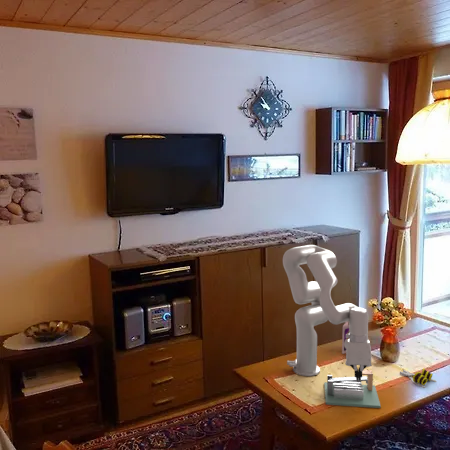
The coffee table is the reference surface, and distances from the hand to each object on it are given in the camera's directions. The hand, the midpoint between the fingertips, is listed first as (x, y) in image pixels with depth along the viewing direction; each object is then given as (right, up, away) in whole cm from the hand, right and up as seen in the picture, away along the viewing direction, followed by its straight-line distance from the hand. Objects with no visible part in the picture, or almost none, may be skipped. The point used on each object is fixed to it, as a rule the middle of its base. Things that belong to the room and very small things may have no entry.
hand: (358, 378), depth 214 cm
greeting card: (+8, -1, +51) cm, 51 cm away
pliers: (+31, -6, +17) cm, 36 cm away
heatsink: (-5, -7, +3) cm, 9 cm away
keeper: (+5, -6, +7) cm, 11 cm away
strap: (-4, -2, +2) cm, 5 cm away
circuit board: (-2, -8, +2) cm, 9 cm away
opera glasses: (+33, -6, +15) cm, 37 cm away
